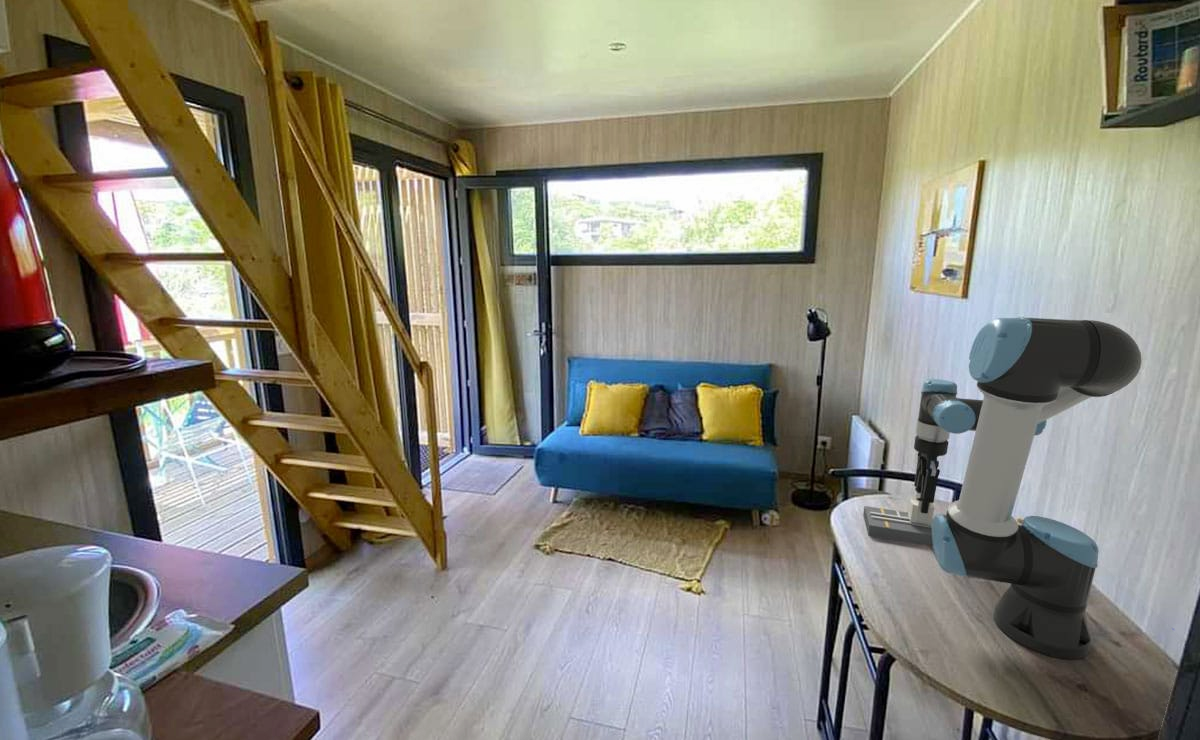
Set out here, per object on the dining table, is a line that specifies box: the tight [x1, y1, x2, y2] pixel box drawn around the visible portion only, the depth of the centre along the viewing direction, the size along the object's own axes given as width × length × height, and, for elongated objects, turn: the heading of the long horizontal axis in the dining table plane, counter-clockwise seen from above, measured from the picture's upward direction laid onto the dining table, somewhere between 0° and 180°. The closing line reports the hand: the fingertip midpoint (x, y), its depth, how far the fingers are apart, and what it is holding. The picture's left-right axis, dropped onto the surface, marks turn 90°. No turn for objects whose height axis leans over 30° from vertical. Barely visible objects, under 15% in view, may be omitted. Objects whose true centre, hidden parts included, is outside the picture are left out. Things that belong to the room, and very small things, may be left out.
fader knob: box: [908, 499, 935, 525], centre depth 145 cm, size 4×5×6 cm
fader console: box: [862, 505, 933, 547], centre depth 147 cm, size 12×17×4 cm
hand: (919, 518), depth 145 cm, fingers closed on fader knob, 4 cm apart
